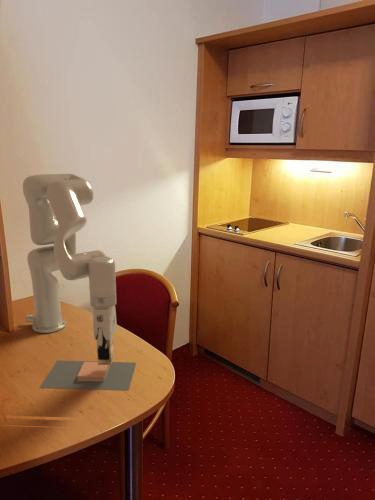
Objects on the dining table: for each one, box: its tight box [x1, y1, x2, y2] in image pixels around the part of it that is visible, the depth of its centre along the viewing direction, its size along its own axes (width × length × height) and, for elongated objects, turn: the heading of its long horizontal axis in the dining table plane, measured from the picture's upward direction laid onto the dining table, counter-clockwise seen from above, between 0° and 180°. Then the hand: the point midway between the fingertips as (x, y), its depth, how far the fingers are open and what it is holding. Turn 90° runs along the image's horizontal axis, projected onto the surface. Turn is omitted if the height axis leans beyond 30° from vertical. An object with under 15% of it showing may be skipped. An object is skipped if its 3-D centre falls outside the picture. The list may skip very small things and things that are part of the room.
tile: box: [77, 361, 110, 382], centre depth 123 cm, size 2×8×8 cm
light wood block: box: [96, 334, 115, 365], centre depth 120 cm, size 4×4×11 cm
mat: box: [39, 359, 137, 391], centre depth 123 cm, size 26×15×1 cm, turn 88°
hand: (105, 354), depth 121 cm, fingers closed on light wood block, 4 cm apart
